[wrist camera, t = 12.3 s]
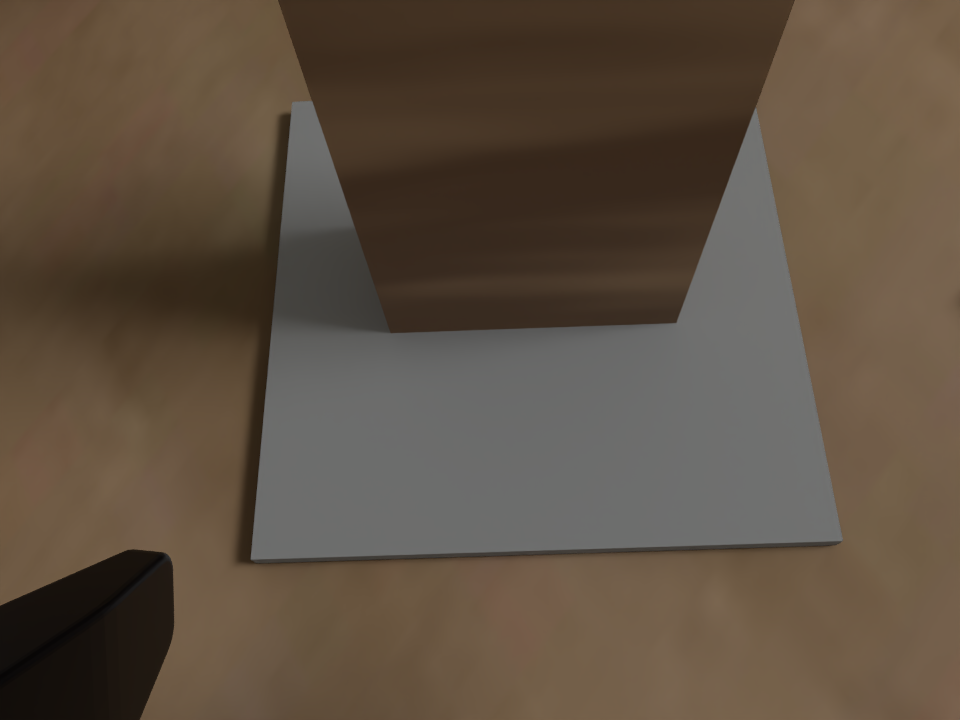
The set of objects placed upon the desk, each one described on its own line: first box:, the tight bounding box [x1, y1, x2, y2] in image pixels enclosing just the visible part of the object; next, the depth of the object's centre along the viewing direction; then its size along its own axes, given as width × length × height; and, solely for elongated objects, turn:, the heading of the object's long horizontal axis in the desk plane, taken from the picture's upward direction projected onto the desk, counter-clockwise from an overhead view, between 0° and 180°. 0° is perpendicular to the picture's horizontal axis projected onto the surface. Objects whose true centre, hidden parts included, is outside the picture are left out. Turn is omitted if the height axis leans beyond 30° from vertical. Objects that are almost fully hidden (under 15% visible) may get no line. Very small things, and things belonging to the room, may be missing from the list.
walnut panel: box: [278, 0, 795, 333], centre depth 14 cm, size 3×6×13 cm, turn 91°
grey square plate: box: [251, 101, 843, 563], centre depth 20 cm, size 12×12×1 cm
